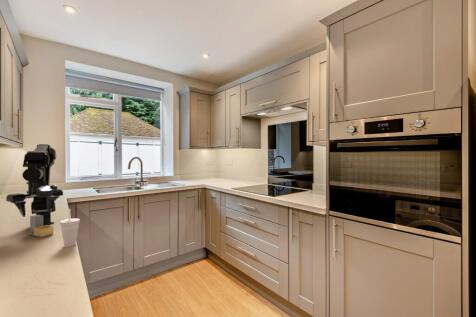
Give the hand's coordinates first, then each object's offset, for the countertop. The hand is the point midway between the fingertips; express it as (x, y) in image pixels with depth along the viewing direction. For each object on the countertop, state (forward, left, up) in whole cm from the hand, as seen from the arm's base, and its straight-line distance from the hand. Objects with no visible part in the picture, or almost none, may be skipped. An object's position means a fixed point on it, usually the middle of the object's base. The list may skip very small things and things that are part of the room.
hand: (36, 214), depth 103 cm
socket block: (+5, 0, -9) cm, 10 cm away
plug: (0, 0, -9) cm, 9 cm away
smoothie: (+28, -3, -9) cm, 30 cm away
